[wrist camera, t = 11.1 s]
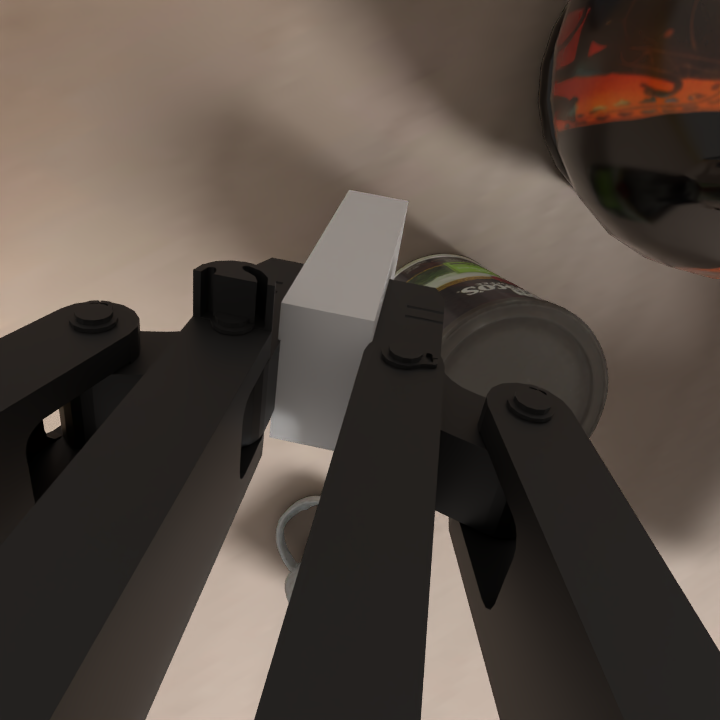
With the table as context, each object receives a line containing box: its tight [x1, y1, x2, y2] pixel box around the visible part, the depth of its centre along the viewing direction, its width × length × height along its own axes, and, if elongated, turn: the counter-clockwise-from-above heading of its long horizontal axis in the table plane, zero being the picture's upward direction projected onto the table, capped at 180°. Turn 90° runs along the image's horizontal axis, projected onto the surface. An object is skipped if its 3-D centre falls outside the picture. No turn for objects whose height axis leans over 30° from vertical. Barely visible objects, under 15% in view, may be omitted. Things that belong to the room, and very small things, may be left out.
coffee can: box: [394, 254, 608, 438], centre depth 38 cm, size 10×10×14 cm
